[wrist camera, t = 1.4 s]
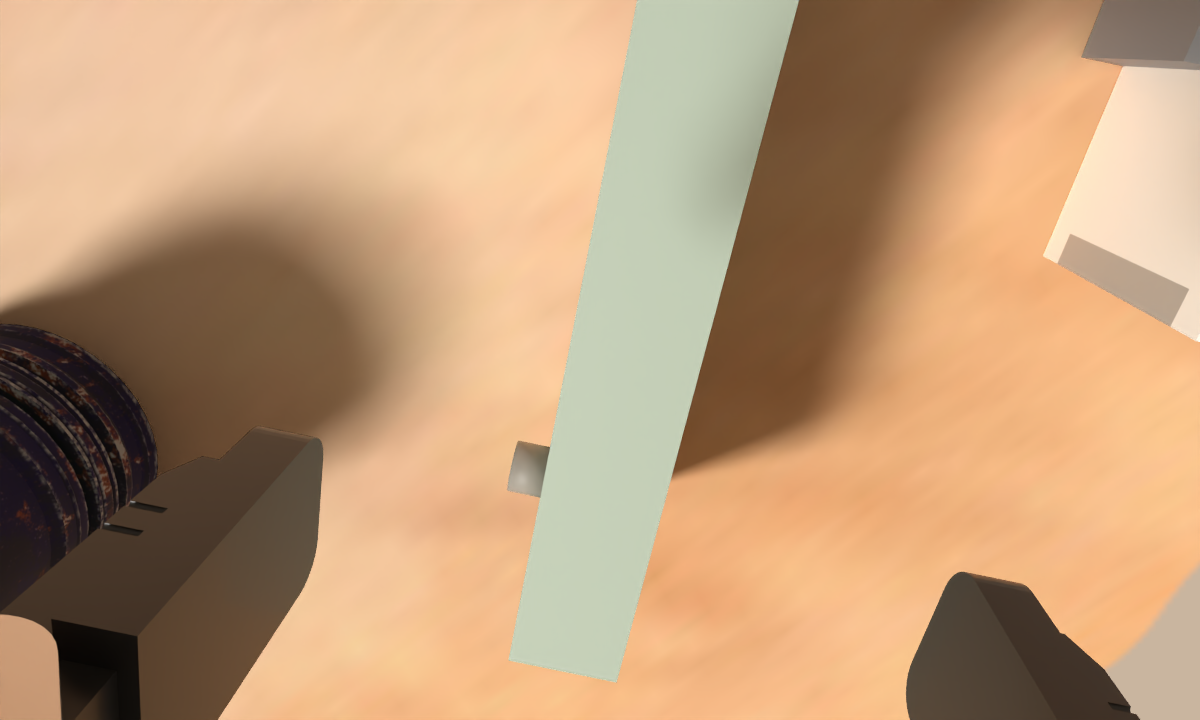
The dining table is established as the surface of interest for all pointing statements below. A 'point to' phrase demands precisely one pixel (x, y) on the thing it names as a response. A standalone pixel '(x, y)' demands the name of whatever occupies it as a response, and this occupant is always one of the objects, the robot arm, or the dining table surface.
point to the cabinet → (1142, 166)
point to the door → (643, 318)
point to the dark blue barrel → (61, 452)
